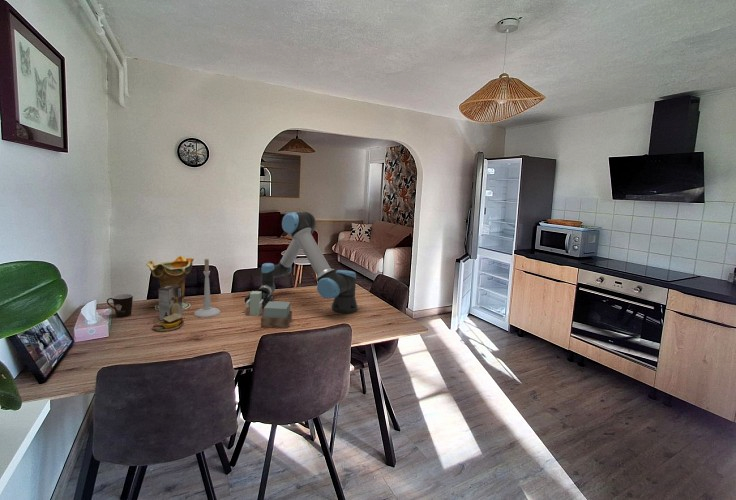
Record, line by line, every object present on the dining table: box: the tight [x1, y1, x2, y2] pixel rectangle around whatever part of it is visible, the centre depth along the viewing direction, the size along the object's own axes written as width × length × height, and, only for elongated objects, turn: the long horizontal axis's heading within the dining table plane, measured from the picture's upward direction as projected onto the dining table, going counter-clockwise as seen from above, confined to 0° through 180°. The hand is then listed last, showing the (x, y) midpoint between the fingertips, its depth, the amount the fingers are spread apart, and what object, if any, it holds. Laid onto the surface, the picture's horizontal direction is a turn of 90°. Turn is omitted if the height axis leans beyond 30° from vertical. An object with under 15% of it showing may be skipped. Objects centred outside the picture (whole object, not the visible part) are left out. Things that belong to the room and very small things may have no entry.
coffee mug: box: [106, 293, 134, 319], centre depth 183 cm, size 12×9×10 cm
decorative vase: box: [146, 255, 194, 311], centre depth 197 cm, size 21×23×28 cm
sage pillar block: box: [249, 290, 263, 317], centre depth 195 cm, size 5×5×12 cm
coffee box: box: [157, 285, 184, 321], centre depth 182 cm, size 9×6×16 cm
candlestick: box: [193, 258, 221, 318], centre depth 190 cm, size 13×13×30 cm
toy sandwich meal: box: [151, 313, 185, 332], centre depth 171 cm, size 12×14×5 cm
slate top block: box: [263, 300, 291, 318], centre depth 183 cm, size 11×11×5 cm
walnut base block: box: [260, 310, 293, 329], centre depth 184 cm, size 13×13×5 cm
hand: (253, 305), depth 190 cm, fingers open, 6 cm apart
